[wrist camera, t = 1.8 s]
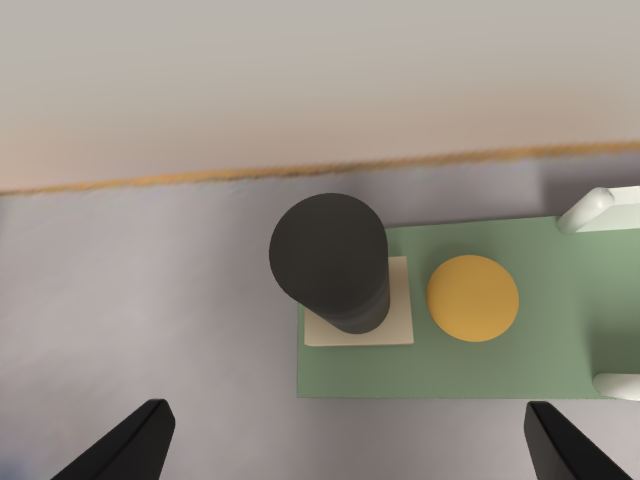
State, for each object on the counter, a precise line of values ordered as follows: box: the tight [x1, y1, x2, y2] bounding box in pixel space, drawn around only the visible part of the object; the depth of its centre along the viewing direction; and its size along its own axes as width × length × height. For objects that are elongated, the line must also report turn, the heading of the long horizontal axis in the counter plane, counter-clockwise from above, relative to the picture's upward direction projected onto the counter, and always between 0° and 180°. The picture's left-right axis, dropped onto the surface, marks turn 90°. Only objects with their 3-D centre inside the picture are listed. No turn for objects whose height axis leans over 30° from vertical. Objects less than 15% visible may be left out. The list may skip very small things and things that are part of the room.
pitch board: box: [297, 215, 640, 399], centre depth 19 cm, size 9×22×1 cm, turn 90°
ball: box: [426, 255, 519, 342], centre depth 17 cm, size 4×4×4 cm
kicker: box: [269, 193, 414, 347], centre depth 15 cm, size 4×5×11 cm
